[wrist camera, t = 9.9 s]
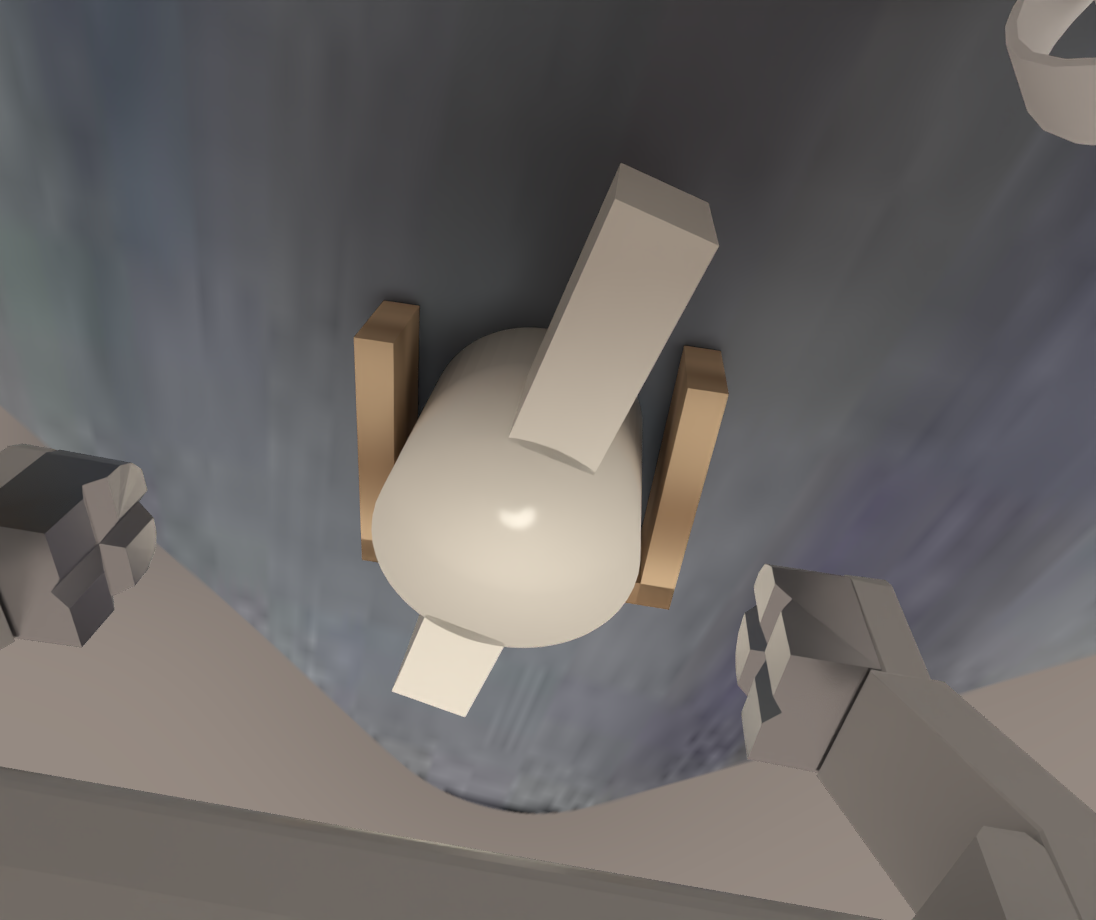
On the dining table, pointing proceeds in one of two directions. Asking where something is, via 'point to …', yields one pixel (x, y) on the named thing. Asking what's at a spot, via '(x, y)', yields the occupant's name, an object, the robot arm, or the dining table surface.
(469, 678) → the white bar with bulge
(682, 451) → the cradle
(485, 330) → the dining table surface
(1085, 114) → the coffeepot
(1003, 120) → the dining table surface
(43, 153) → the dining table surface
